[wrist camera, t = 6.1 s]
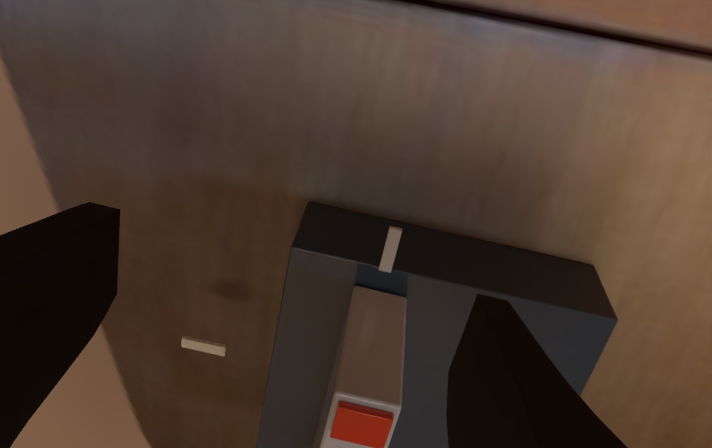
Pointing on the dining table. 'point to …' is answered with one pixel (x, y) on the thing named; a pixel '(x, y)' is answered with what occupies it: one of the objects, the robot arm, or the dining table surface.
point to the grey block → (366, 374)
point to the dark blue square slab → (413, 316)
